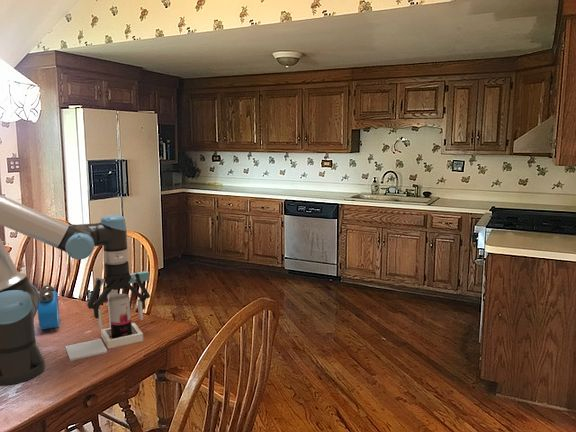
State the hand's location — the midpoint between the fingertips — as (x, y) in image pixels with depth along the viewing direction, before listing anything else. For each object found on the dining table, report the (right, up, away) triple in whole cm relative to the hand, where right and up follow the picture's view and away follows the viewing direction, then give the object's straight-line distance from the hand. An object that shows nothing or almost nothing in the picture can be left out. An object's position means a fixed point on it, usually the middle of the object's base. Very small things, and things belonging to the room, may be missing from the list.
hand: (121, 322), depth 165 cm
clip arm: (-1, +12, +10) cm, 16 cm away
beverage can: (0, -6, +1) cm, 6 cm away
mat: (-9, -7, -8) cm, 14 cm away
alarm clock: (-30, -4, +11) cm, 32 cm away
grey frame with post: (-2, -5, +4) cm, 7 cm away
